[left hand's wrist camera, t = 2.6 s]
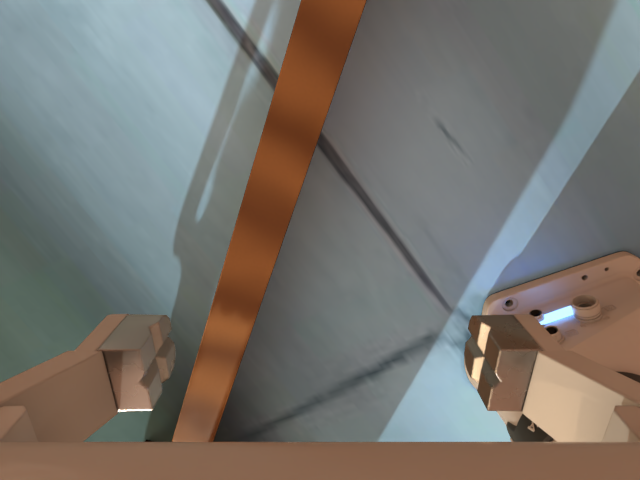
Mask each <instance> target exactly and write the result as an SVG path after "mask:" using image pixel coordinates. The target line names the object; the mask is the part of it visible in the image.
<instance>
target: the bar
mask: <svg viewBox="0 0 640 480" xmlns="http://www.w3.org/2000/svg"><path fill="white" fill-rule="evenodd" d="M366 1H367V0H301V3H300V6H299V10H298V13H297V17H296V20H295V23H294V27H293V30H292V34H291V37H290V41H289V44H288V47H287V51H286V54H285V58H284V61H283V64H282V68H281V71H280V75H279V78H278V81H277V85H276V88H275V92H274V95H273V98H272V102H271V105H270V109H269V112H268V115H267V119H266V122H265V126H264V129H263V132H262V136H261V139H260V143H259V146H258V149H257V153H256V156H255V160H254V163H253V166H252V170H251V173H250V177H249V180H248V184H247V187H246V190H245V194H244V197H243V201H242V204H241V207H240V211H239V214H238V218H237V221H236V224H235V228H234V231H233V235H232V238H231V241H230V245H229V248H228V252H227V255H226V258H225V262H224V265H223V269H222V272H221V275H220V279H219V282H218V286H217V289H216V292H215V296H214V299H213V303H212V306H211V309H210V313H209V316H208V320H207V323H206V327H205V330H204V333H203V337H202V340H201V344H200V347H199V350H198V354H197V357H196V361H195V364H194V367H193V371H192V374H191V378H190V381H189V384H188V388H187V391H186V395H185V398H184V401H183V405H182V408H181V412H180V415H179V418H178V422H177V425H176V429H175V432H174V435H173V439H172V442H213V440H214V437H215V435H216V432H217V429H218V426H219V423H220V420H221V417H222V414H223V412H224V409H225V406H226V403H227V400H228V397H229V394H230V392H231V389H232V386H233V383H234V380H235V377H236V374H237V371H238V369H239V366H240V363H241V360H242V357H243V354H244V351H245V348H246V346H247V343H248V340H249V337H250V334H251V331H252V328H253V325H254V323H255V320H256V317H257V314H258V311H259V308H260V305H261V302H262V300H263V297H264V294H265V291H266V288H267V285H268V282H269V279H270V277H271V274H272V271H273V268H274V265H275V262H276V259H277V256H278V254H279V251H280V248H281V245H282V242H283V239H284V236H285V233H286V231H287V228H288V225H289V222H290V219H291V216H292V213H293V210H294V208H295V205H296V202H297V199H298V196H299V193H300V190H301V188H302V185H303V182H304V179H305V176H306V173H307V170H308V167H309V165H310V162H311V159H312V156H313V153H314V150H315V147H316V144H317V142H318V139H319V136H320V133H321V130H322V127H323V124H324V121H325V119H326V116H327V113H328V110H329V107H330V104H331V101H332V98H333V96H334V93H335V90H336V87H337V84H338V81H339V78H340V75H341V73H342V70H343V67H344V64H345V61H346V58H347V55H348V52H349V50H350V47H351V44H352V41H353V38H354V35H355V32H356V29H357V27H358V24H359V21H360V18H361V15H362V12H363V9H364V7H365V4H366Z"/></svg>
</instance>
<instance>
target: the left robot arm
mask: <svg viewBox="0 0 640 480" xmlns="http://www.w3.org/2000/svg"><path fill="white" fill-rule="evenodd" d="M638 270H640V258H638V257H637V256H635V255H633V254H631V253H628V252H625V251H621V252H617V253H614V254H611V255H608V256H605V257H602V258H599V259H596V260H593V261H590V262H587V263H584V264H581V265H578V266H575V267H572V268H569V269H566V270H563V271H560V272H557V273H554V274H551V275H548V276H545V277H542V278H539V279H536V280H533V281H530V282H527V283H524V284H521V285H518V286H515V287H513V288H510V289H507V290H504V291H501V292H498V293H495V294H492V295H490V296H489V297H488V298H487V299H486V300H485V302H484V305H483V310H482V315H473V316H472V317H471V319H470V321H469V326H468V330H469V331H470V333H471V335H472V336H471V338H470V339H469V340H468V341H467V342H466V344H465V351H464V365H465V371H466V374H467V376H468V378H469V380H470V382H471V383H472V385H473V386H474V387H475V388H476V389H477V391H478V393H479V395H480V397H481V399H482V401H483V403H484V405H485V406H486V408H487V410H488V411H497V413H498V414H499V416H500V417H501V418H502V420H503V421H504V423H505V424H506V426H507V430H508V433H509V435H510V437H511V438H510V440H511V442H83V441H84V440H86V439H87V438H88V437H89V436H91V435H92V434H93V433H94V432H95V431H97V430H98V429H99V428H100V427H102V426H103V425H104V424H105V423H107V422H108V421H109V420H110V419H111V418H113V417H114V416H115V415H116V414H118V412H120V411H152V410H153V408H154V407H155V405H156V403H157V401H158V399H159V397H160V395H161V393H162V391H163V389H162V384H161V383H163V382H164V381H166V380H167V379H169V378H170V375H171V373H172V371H173V368H174V364H175V359H176V350H175V343H174V342H173V341H172V340H171V339H170V338H169V337H168V335H169V333H170V331H171V330H172V326H171V322H170V318H169V317H168V316H167V315H147V314H130V315H129V314H111V315H107V316H106V317H105V318H104V319H103V321H102V322H101V323H100V324H99V325H98V326H97V327H96V328H95V329H94V330H93V331H92V332H91V333H90V334H89V336H88V337H87V338H86V339H85V340H84V341H83V342H82V343H81V344H80V345H79V346H78V347H77V348H76V350H75V351H67V352H65V353H63V354H60V355H58V356H56V357H54V358H52V359H50V360H48V361H46V362H43V363H41V364H39V365H37V366H35V367H33V368H31V369H29V370H27V371H24V372H22V373H20V374H18V375H16V376H14V377H12V378H10V379H7V380H5V381H3V382H1V383H0V480H640V271H639V272H637V271H638ZM507 300H510V302H509V303H505V302H506V301H507Z"/></svg>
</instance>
